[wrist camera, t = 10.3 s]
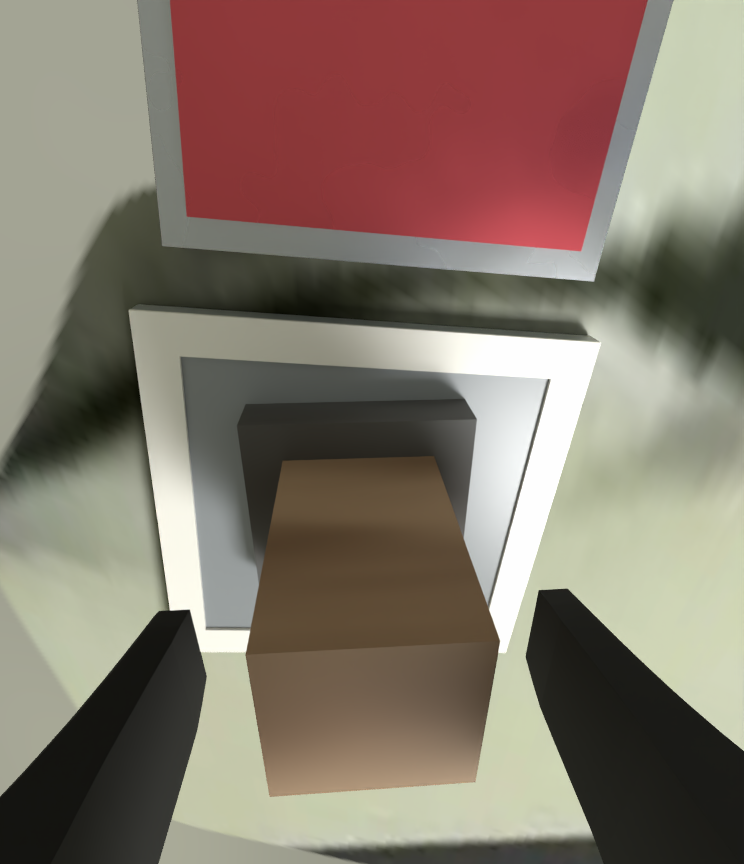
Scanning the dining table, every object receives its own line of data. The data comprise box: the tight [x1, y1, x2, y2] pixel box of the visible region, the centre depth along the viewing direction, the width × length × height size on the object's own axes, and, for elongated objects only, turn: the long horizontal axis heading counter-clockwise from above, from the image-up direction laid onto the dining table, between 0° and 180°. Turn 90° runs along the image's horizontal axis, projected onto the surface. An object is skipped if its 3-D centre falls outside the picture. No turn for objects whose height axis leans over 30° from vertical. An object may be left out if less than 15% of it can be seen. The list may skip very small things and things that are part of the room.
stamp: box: [237, 399, 500, 797], centre depth 11 cm, size 6×6×6 cm
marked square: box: [128, 304, 601, 653], centre depth 14 cm, size 11×11×1 cm
